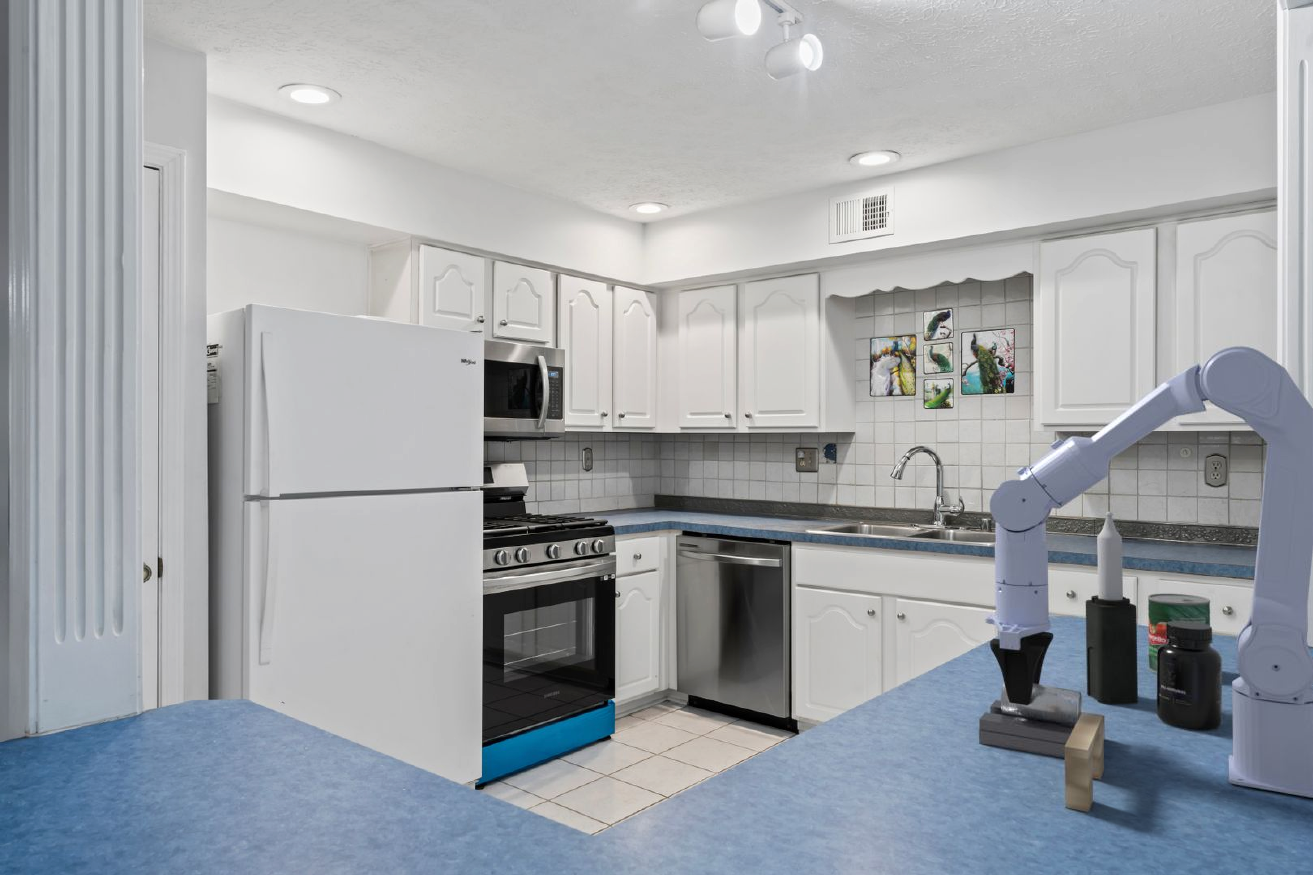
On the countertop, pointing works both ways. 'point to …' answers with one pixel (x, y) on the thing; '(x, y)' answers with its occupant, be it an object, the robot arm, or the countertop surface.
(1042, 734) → the v block
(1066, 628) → the countertop surface
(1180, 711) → the supplement bottle
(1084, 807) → the beam
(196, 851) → the countertop surface
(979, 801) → the countertop surface
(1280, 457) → the robot arm
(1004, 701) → the silver metal cylinder
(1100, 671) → the candle
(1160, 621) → the canned tomato
